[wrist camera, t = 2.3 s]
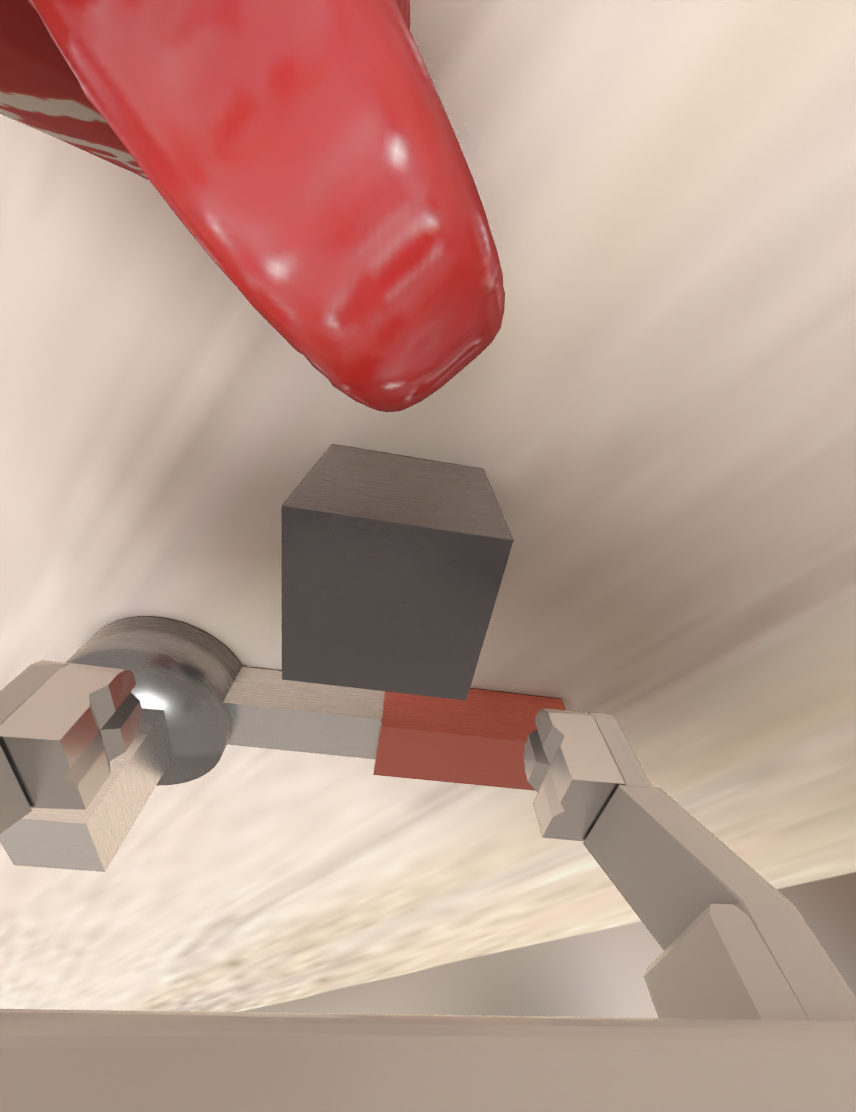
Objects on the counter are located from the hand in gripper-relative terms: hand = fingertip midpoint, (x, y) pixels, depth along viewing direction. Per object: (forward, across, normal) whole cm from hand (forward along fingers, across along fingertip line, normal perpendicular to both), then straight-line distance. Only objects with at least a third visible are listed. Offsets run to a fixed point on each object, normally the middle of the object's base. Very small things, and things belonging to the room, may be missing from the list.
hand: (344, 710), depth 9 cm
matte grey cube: (+9, -1, 0) cm, 9 cm away
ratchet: (+9, +1, +10) cm, 14 cm away
